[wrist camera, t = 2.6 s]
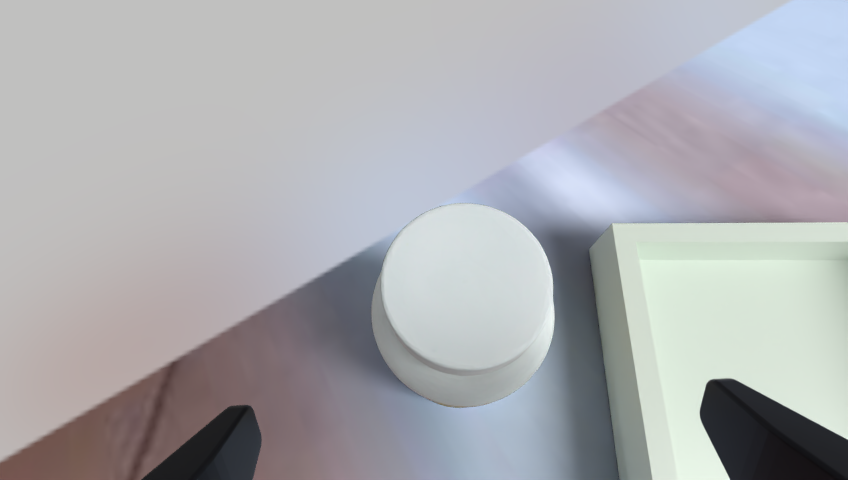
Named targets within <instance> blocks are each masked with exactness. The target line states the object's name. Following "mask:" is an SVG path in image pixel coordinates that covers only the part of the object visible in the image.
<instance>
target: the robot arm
mask: <svg viewBox="0 0 848 480" xmlns="http://www.w3.org/2000/svg"><path fill="white" fill-rule="evenodd" d="M700 419H701V422H702V424H703V427H704V429H705V431H706V433H707V435H708V437H709V439H710V441H711V443H712V445H713V447H714V449H715V451H716V452H717V454H718V456H719V458H720V460H721V462H722V464H723V466H724V468H725V470H726V472H727V474H728V476H729V478H730V480H848V439H846V438H844V437H842V436H840V435H838V434H836V433H834V432H833V431H831V430H829V429H827V428H825V427H823V426H821V425H820V424H818V423H816V422H814V421H812V420H810V419H808V418H806V417H805V416H803V415H801V414H799V413H797V412H795V411H793V410H791V409H790V408H788V407H786V406H784V405H782V404H780V403H778V402H776V401H775V400H773V399H771V398H769V397H767V396H765V395H763V394H761V393H760V392H758V391H756V390H754V389H752V388H750V387H748V386H746V385H745V384H743V383H741V382H739V381H737V380H735V379H731V378H722V379H711V380H709V381H708V382H707V384H706V387H705V391H704V395H703V399H702V403H701V407H700ZM260 448H261V432H260V429H259V426H258V423H257V420H256V416H255V413H254V410H253V408H252V407H251V406H249V405H237V406H230V407H228V408H227V409H225V410H224V411H223V412H222V413H220V414H219V415H218V416H217V417H216V418H214V419H213V420H212V421H211V422H210V423H209V424H207V425H206V426H205V427H204V428H203V429H201V430H200V431H199V432H198V433H197V434H195V435H194V436H193V437H192V438H191V439H189V440H188V441H187V442H186V443H185V444H183V445H182V446H181V447H180V448H179V449H177V450H176V451H175V452H174V453H173V454H171V455H170V456H169V457H168V458H167V459H165V460H164V461H163V462H162V463H161V464H159V465H158V466H157V467H156V468H155V469H153V470H152V471H151V472H150V473H149V474H147V475H146V476H145V477H144V478H143V479H141V480H253V476H254V472H255V468H256V464H257V460H258V456H259V452H260Z"/></svg>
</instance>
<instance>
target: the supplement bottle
mask: <svg viewBox="0 0 848 480" xmlns="http://www.w3.org/2000/svg"><path fill="white" fill-rule="evenodd" d="M371 315H372V327H373V332H374V336H375V340H376V343H377V346H378V348H379V351H380V353H381V355H382V357H383V358H384V360H385V362H386V363H387V365H388V367H389V368H390V369H391V371H392V372H393V373H394V374H395V375H396V376H397V377H398V378H399V379H400V381H401V382H403V383H404V384H405V385H406V386H407V387H408V388H410V389H411V390H413V391H414V392H416V393H417V394H419V395H421V396H423V397H425V398H427V399H429V400H431V401H433V402H435V403H438V404H440V405H444V406H448V407H455V408H464V407H475V406H481V405H485V404H489V403H492V402H495V401H497V400H500V399H502V398H505V397H506V396H508V395H510V394H512V393H513V392H515V391H516V390H518V389H519V388H520V387H522V386H523V385H524V384H525V383H526V382H527V381H528V380H529V379H530V378H531V377H532V376H533V375H534V373H535V372H536V371H537V370H538V368H539V367H540V365H541V364H542V362H543V360H544V358H545V356H546V354H547V352H548V350H549V347H550V343H551V340H552V336H553V331H554V321H555V317H554V303H553V278H552V272H551V268H550V265H549V262H548V259H547V256H546V254H545V252H544V250H543V248H542V246H541V245H540V243H539V242H538V240H537V239H536V238H535V237H534V235H533V234H532V233H531V232H530V231H529V230H528V229H527V228H526V227H525V226H524V225H523V224H521V223H520V222H519V221H518V220H516V219H515V218H513V217H512V216H510V215H508V214H507V213H504V212H502V211H500V210H498V209H495V208H492V207H489V206H485V205H479V204H470V203H455V204H449V205H444V206H440V207H437V208H434V209H432V210H429V211H427V212H425V213H423V214H421V215H420V216H418V217H416V218H415V219H414V220H412V221H411V222H410V223H409V224H407V225H406V226H405V227H404V228H403V229H402V230H401V231H400V232H399V234H398V235H397V236H396V238H395V239H394V241H393V242H392V244H391V245H390V247H389V249H388V251H387V254H386V256H385V258H384V261H383V266H382V271H381V273H380V275H379V277H378V280H377V283H376V286H375V289H374V293H373V298H372V309H371Z"/></svg>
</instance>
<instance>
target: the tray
mask: <svg viewBox="0 0 848 480" xmlns="http://www.w3.org/2000/svg"><path fill="white" fill-rule="evenodd" d="M589 254H590V261H591V269H592V276H593V284H594V292H595V299H596V307H597V314H598V322H599V329H600V337H601V344H602V352H603V359H604V367H605V374H606V382H607V389H608V397H609V405H610V412H611V420H612V427H613V435H614V442H615V450H616V457H617V465H618V472H619V480H730V478H729V476H728V474H727V472H726V470H725V468H724V466H723V464H722V462H721V460H720V458H719V456H718V454H717V452H716V451H715V449H714V447H713V445H712V443H711V441H710V439H709V437H708V435H707V433H706V431H705V429H704V427H703V424H702V422H701V419H700V407H701V403H702V399H703V395H704V391H705V387H706V384H707V382H708V381H709V380H711V379H722V378H731V379H735V380H737V381H739V382H741V383H743V384H745V385H746V386H748V387H750V388H752V389H754V390H756V391H758V392H760V393H761V394H763V395H765V396H767V397H769V398H771V399H773V400H775V401H776V402H778V403H780V404H782V405H784V406H786V407H788V408H790V409H791V410H793V411H795V412H797V413H799V414H801V415H803V416H805V417H806V418H808V419H810V420H812V421H814V422H816V423H818V424H820V425H821V426H823V427H825V428H827V429H829V430H831V431H833V432H834V433H836V434H838V435H840V436H842V437H844V438H846V439H848V222H844V223H612V224H611V225H610V226H609V227H608V229H607V230H606V231H605V232H604V233H603V234H602V235H601V236H600V237H599V239H598V240H597V241H596V242H595V243H594V244H593V245H592V246H591V247H590V249H589Z"/></svg>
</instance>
